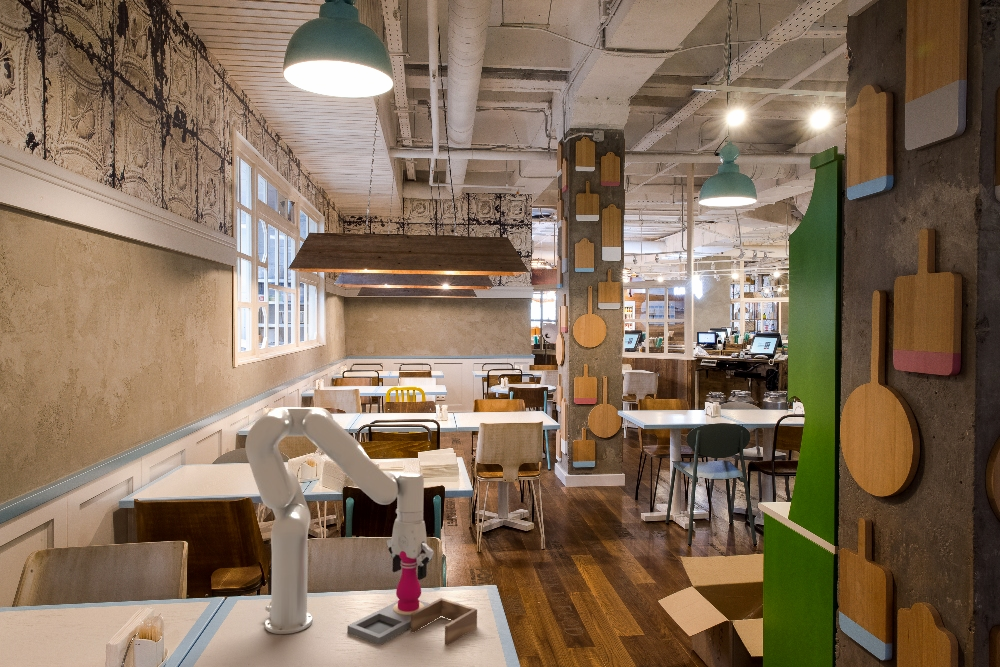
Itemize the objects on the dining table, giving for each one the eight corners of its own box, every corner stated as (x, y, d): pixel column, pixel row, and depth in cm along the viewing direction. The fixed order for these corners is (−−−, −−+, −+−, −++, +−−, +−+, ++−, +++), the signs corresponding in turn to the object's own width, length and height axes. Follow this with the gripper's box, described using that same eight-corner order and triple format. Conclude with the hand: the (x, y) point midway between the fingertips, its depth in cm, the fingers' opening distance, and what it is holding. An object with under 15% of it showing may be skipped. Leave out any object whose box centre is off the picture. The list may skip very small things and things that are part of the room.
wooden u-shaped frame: (410, 631, 176) (410, 613, 176) (440, 615, 186) (441, 597, 186) (447, 645, 168) (447, 626, 168) (476, 627, 179) (477, 609, 179)
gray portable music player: (347, 632, 175) (347, 624, 175) (407, 603, 194) (407, 595, 194) (379, 645, 168) (379, 636, 168) (437, 613, 188) (438, 605, 188)
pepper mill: (408, 615, 181) (409, 544, 181) (390, 607, 185) (391, 538, 185) (426, 606, 187) (427, 538, 187) (408, 599, 191) (409, 532, 191)
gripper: (379, 513, 188) (378, 571, 188) (424, 524, 178) (423, 585, 178) (397, 508, 194) (396, 564, 194) (441, 517, 184) (440, 577, 184)
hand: (409, 574), depth 186 cm, fingers open, 9 cm apart
